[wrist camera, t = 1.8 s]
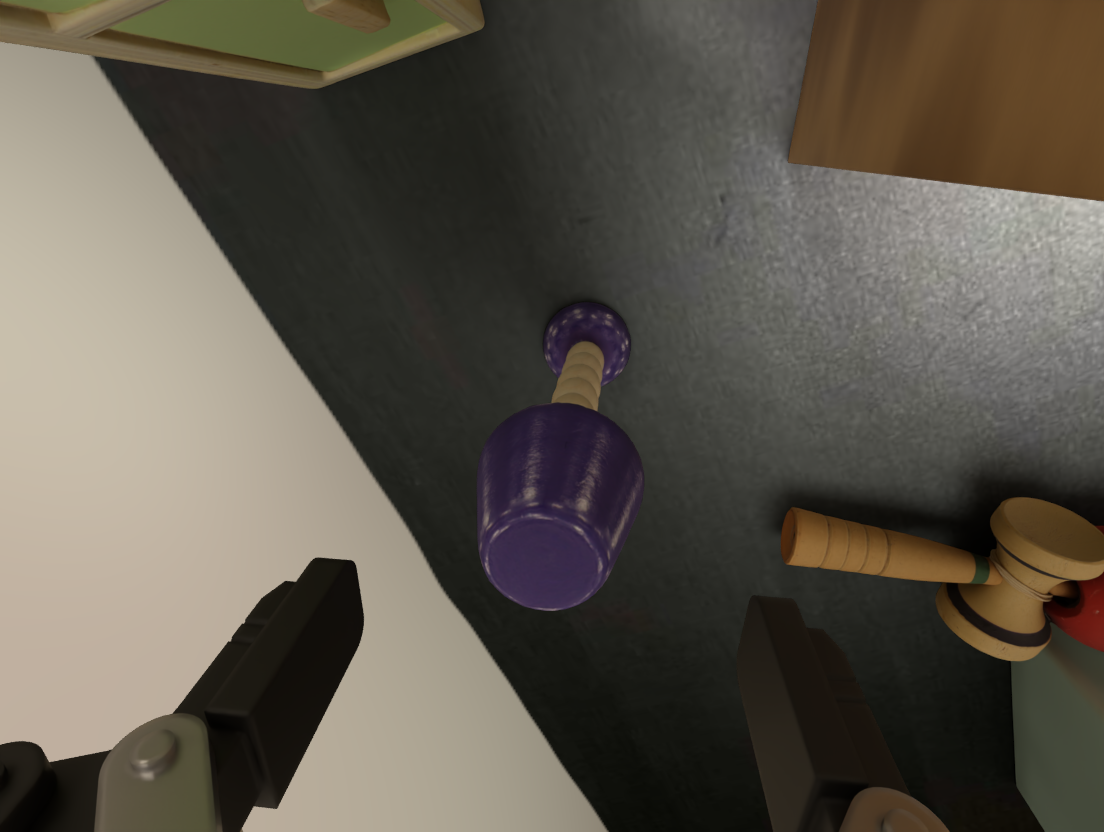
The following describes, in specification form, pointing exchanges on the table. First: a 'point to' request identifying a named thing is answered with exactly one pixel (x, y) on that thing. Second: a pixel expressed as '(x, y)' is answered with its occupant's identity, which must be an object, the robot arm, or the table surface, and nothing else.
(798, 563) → the kendama
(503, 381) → the table surface
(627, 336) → the toy lamp
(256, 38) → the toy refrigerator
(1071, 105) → the stand
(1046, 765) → the planter
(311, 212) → the table surface
